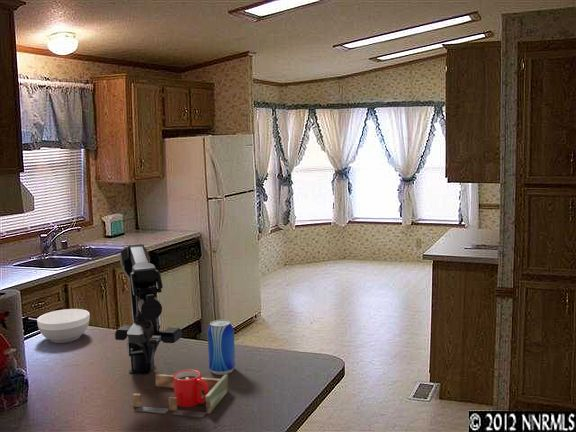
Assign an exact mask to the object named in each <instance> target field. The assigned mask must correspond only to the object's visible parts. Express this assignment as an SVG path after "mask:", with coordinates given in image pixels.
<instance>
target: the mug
mask: <svg viewBox="0 0 576 432" xmlns="http://www.w3.org/2000/svg"><path fill="white" fill-rule="evenodd" d="M173 375H174V376H173V381H174V388H173V397H177V407H182V408H189V407H195V406H197V405H200V404H206V398H205V396H206V395H207V394H208V393H209V392H210V391H209V388H208V386H207V384H206V383H205V382H204V381H203V380H201V377H202V372H200V370H197V369H183V370H179V371H177V372H175V373H174V374H173ZM202 387H203V389H204V390H202ZM203 391H204V396H203Z"/></svg>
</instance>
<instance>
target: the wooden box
mask: <svg viewBox="0 0 576 432" xmlns="http://www.w3.org/2000/svg"><path fill="white" fill-rule="evenodd" d="M228 375H229V374H224V375H222V377H221V378H215V377H214V378H212V377H202V376H201V380H203V381H204V382H205V383H206V384H207V386H208V388H209V391H210V392H209V393H208V394H207V395H206V396H205V398H206V402H205V412H204V411H194V410H183V409H178V406H177V397H174V396H169V397H168V408H165V407H164V408H162V407H153V406H152V407H151V406H142V405H143V404H142V394H141V393H133V394H132V402H133V403H132V404H133V408H136V409H135V412H140V413H151V414H160V415H166V414H167V413H168V412H169V411H173V412H172V413H171V415H172V416H179V417H180V416H181V417H190V418H205V416H206V415H207V414H211V413H212V412H213V410H214V409H215V408H216V407H217V406H218V404H219V403H220V402H221V401H222V399H223V398H224V396H225V395H226V394H227V393H228V392H229V383H228V382H229V381H228V380H229V378H228ZM173 376H174V374H164V373H162V374H161V373H160V374H159V373H156V374H155V386H156V387H160V388H161V387H162V388H163V387H164V388H173V389H174V381H173ZM202 391H204V389H203V387H202Z"/></svg>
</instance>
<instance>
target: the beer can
mask: <svg viewBox="0 0 576 432" xmlns="http://www.w3.org/2000/svg"><path fill="white" fill-rule="evenodd" d="M206 330H207V333H206V334H207V347H208V348H207V349H208V350H207V351H208V353H207V354H208V365H209V366H208V368H209V370H210V371H211V373H212V374H214V375H219V376H221V375H222V376H223V375H229V374H230V373H232V372H233V371H234V370H235V368H236V350H235V330H234V327H233V325H232V322H231V320H228V319H216V320H213V321H210V323H209V327H208V328H207V329H206Z"/></svg>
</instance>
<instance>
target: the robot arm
mask: <svg viewBox="0 0 576 432" xmlns="http://www.w3.org/2000/svg"><path fill="white" fill-rule="evenodd" d="M148 253H149V252H148V249H147V248H146V247H145V244H144V243H133V244H132V243H131V244H129V245H127V246H126V248H124V249H123V250H121V251H120V255H119V262H120V263H119V264H120V267H122V271H123V273H124V274H125V276H126V277H127V278H128V284H129V285H128V286H129V292H130V293H129V294H130V306H131V315H132V324H129V325H128V324H124V325H122V326H121V327H118V328H117V329H116V330H115V332H114V339H115V340H116V341H125V340H126V339H127V341H126V351H127V354H128V357H130V366H131V370H129V371H128V373H129V374H134V375H137V374H138V375H148V374H149V373H151V372H152V371H153V370H154V369H155V368H156V365H155V355H156V351H157V348H158V347H159V345H160V343H161V342H163V344H175V343H176V342H177V341H179V340H181V338H182V337H183V332H182V329H181V328H180V327H167V328H166V329H165V330H160V329H161V324H159V321H158V318H159V317H160V316H161V315H162V312H163V305H162V303H161V302H160V300H159V299H158V296H157V294H159V293H162V289H163V287H164V286H163V280H162V275H161V273H160V270H158V269H156V266H155V264H153V263H150V262H149V254H148Z"/></svg>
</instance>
